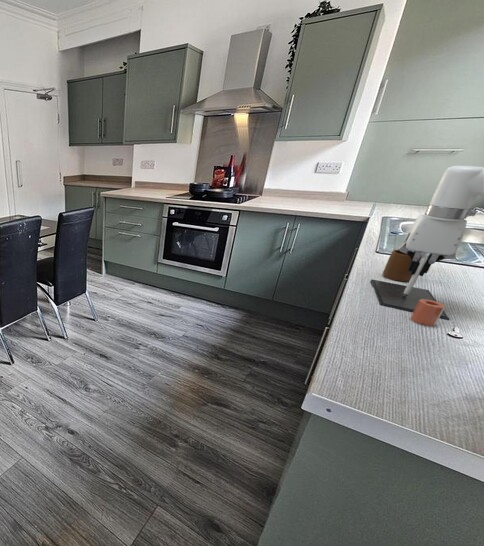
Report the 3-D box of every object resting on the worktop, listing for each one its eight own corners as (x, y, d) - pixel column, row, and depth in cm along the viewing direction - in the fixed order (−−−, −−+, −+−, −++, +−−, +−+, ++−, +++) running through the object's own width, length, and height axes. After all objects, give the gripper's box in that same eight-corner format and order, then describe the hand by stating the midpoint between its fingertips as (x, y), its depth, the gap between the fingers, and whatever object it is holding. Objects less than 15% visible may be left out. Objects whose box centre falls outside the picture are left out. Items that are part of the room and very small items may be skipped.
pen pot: (431, 321, 84) (442, 302, 82) (436, 329, 81) (447, 309, 78) (408, 316, 86) (417, 297, 84) (411, 323, 83) (421, 304, 81)
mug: (380, 268, 119) (390, 245, 115) (407, 273, 114) (419, 249, 111) (382, 278, 110) (393, 253, 107) (412, 284, 106) (425, 258, 102)
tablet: (427, 292, 100) (428, 289, 100) (448, 321, 84) (450, 318, 84) (370, 281, 108) (371, 278, 107) (379, 306, 92) (380, 303, 91)
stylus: (406, 295, 96) (427, 257, 90) (407, 297, 95) (428, 258, 89) (401, 294, 96) (421, 256, 91) (402, 296, 95) (422, 257, 90)
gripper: (482, 214, 84) (448, 276, 92) (404, 207, 92) (379, 264, 100) (494, 219, 79) (457, 285, 86) (409, 211, 87) (382, 271, 94)
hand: (415, 273), depth 93 cm, fingers closed on stylus, 1 cm apart
